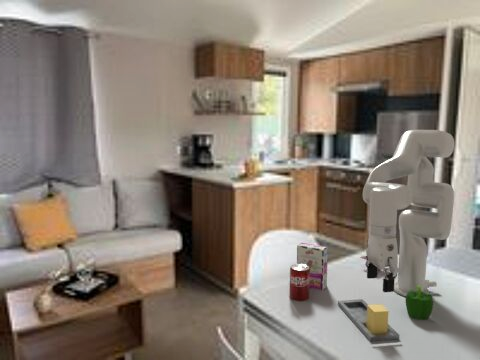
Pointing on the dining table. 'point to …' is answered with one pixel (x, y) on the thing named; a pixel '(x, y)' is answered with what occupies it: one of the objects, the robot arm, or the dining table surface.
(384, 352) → the dining table surface
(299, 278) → the soda can
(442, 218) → the robot arm
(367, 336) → the gray recessed board
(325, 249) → the candy bar box
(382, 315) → the yellow block
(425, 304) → the bell pepper
